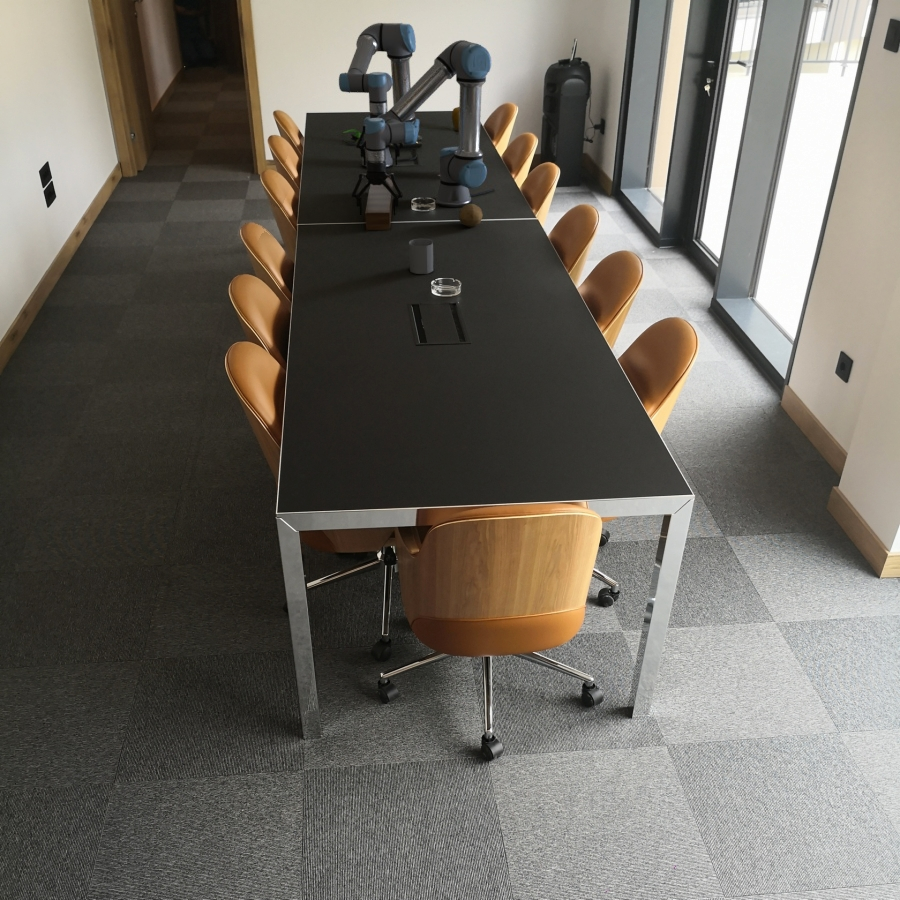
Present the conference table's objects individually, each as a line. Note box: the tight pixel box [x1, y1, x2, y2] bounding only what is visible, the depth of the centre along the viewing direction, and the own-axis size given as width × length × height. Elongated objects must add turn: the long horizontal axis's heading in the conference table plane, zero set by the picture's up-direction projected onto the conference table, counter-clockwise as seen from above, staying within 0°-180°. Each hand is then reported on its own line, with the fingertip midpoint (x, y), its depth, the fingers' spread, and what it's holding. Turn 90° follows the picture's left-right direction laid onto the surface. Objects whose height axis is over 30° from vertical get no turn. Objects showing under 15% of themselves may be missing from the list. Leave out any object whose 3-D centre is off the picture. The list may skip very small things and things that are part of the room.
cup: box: [408, 237, 434, 275], centre depth 305 cm, size 8×8×10 cm
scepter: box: [341, 128, 364, 146], centre depth 466 cm, size 6×13×30 cm
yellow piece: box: [451, 106, 459, 132], centre depth 487 cm, size 11×11×13 cm
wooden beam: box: [364, 177, 394, 231], centre depth 365 cm, size 51×10×7 cm, turn 2°
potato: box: [458, 203, 484, 228], centre depth 347 cm, size 10×14×8 cm
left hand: (380, 164), depth 374 cm, fingers open, 13 cm apart
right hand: (377, 214), depth 350 cm, fingers open, 13 cm apart
